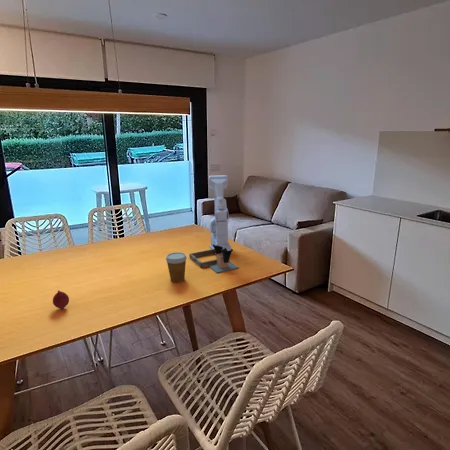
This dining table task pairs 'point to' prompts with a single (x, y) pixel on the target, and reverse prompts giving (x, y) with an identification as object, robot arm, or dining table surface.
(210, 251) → the grey square frame
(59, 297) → the onion
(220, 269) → the mat
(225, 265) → the block
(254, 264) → the dining table surface
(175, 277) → the disposable coffee cup
